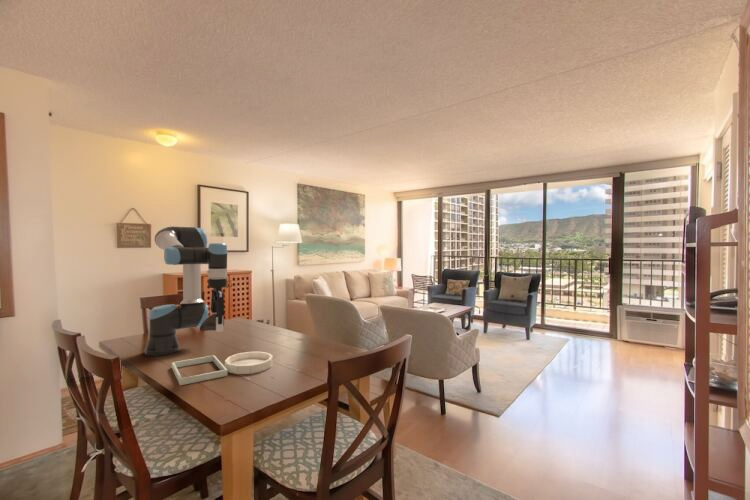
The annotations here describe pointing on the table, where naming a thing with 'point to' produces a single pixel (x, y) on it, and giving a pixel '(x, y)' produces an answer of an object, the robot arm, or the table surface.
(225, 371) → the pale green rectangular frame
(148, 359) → the table surface
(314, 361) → the table surface
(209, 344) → the table surface
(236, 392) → the table surface
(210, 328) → the stone
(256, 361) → the bowl
